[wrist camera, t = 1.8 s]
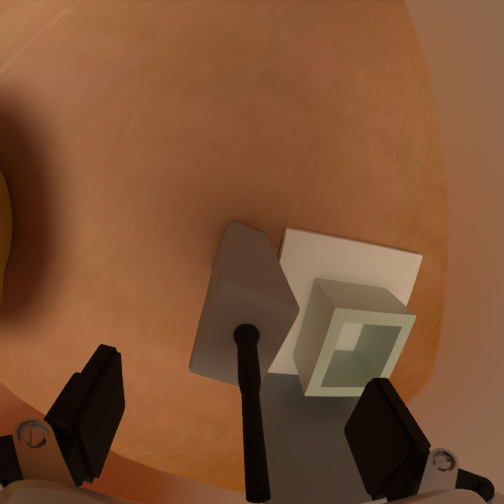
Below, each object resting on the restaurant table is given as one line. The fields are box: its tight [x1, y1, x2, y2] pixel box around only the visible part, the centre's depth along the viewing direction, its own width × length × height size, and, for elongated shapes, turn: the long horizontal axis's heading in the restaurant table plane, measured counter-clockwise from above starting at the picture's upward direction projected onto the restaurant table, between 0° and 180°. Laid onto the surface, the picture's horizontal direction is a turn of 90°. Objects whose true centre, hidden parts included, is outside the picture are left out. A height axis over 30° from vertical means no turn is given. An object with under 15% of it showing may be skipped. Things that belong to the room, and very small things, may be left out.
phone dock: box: [259, 226, 422, 504], centre depth 23 cm, size 18×16×19 cm
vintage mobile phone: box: [189, 220, 300, 503], centre depth 17 cm, size 4×5×25 cm
